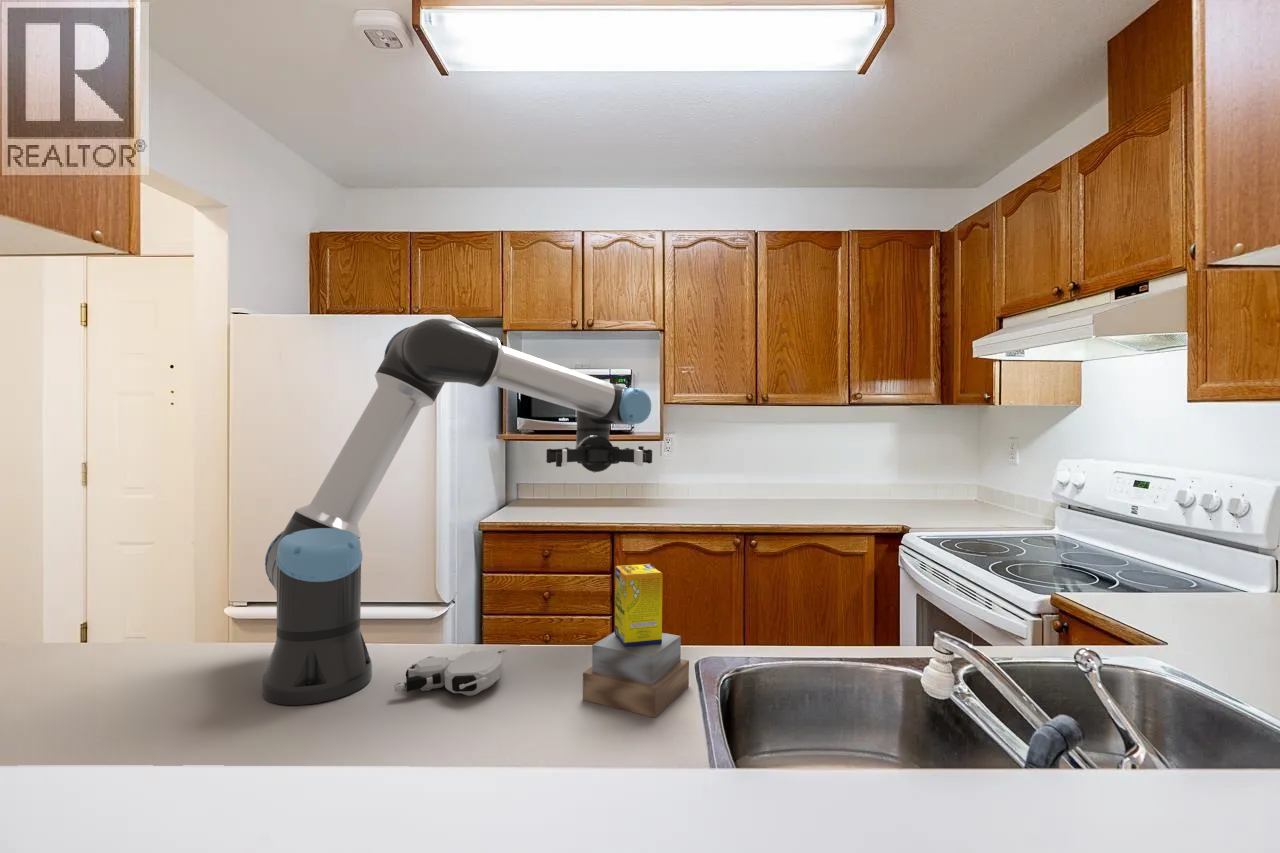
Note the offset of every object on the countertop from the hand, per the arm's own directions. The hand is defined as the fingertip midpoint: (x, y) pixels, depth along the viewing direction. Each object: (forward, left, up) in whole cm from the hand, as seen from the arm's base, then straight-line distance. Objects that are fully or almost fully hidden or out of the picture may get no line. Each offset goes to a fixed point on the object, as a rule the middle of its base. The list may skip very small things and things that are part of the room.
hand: (603, 458), depth 111 cm
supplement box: (+13, -11, -27) cm, 32 cm away
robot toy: (-13, -23, -35) cm, 44 cm away
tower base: (+13, -11, -35) cm, 39 cm away
